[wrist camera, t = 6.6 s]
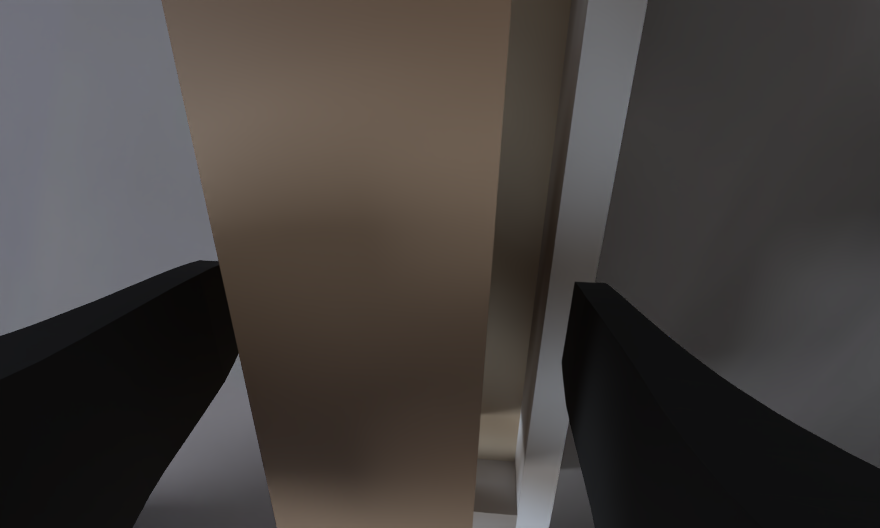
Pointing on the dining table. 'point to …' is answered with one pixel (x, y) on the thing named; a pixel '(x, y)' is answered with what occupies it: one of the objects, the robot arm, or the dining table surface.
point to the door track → (547, 235)
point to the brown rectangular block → (353, 239)
